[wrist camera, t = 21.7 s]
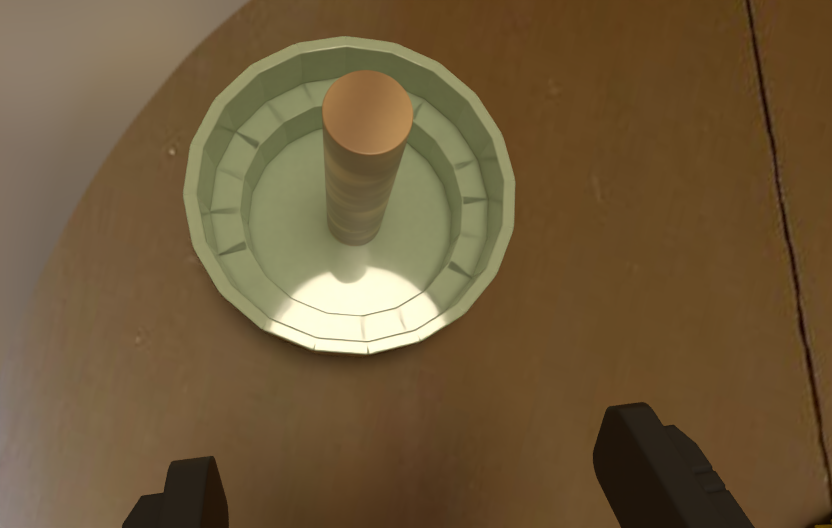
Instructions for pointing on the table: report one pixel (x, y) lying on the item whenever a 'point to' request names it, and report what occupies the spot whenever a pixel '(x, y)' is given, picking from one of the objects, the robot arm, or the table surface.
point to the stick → (362, 151)
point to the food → (824, 527)
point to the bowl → (307, 212)
